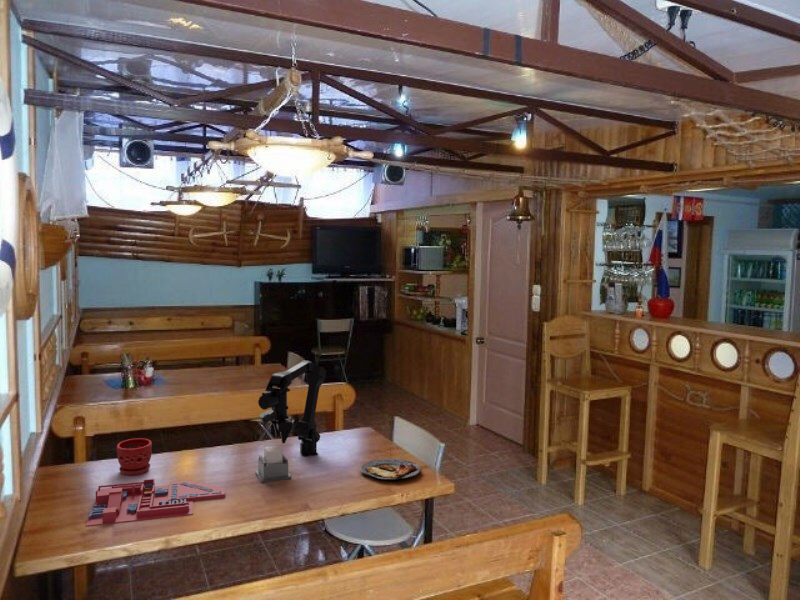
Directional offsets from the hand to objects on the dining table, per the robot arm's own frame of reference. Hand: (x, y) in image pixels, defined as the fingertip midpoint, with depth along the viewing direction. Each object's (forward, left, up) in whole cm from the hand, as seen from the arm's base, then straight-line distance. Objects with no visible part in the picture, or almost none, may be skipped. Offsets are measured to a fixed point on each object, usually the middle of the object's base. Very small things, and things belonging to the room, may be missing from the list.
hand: (280, 439), depth 259 cm
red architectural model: (+49, +20, -12) cm, 54 cm away
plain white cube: (+5, +9, -5) cm, 12 cm away
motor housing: (+5, +10, -12) cm, 16 cm away
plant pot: (+56, -15, -12) cm, 60 cm away
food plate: (-41, +24, -12) cm, 48 cm away
